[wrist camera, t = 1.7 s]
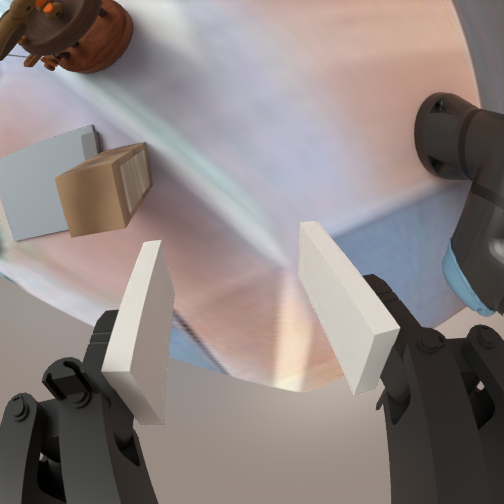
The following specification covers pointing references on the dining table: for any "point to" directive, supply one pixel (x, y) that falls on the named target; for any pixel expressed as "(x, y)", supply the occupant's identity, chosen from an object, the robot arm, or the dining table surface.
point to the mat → (42, 181)
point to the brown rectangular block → (105, 190)
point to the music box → (67, 33)
